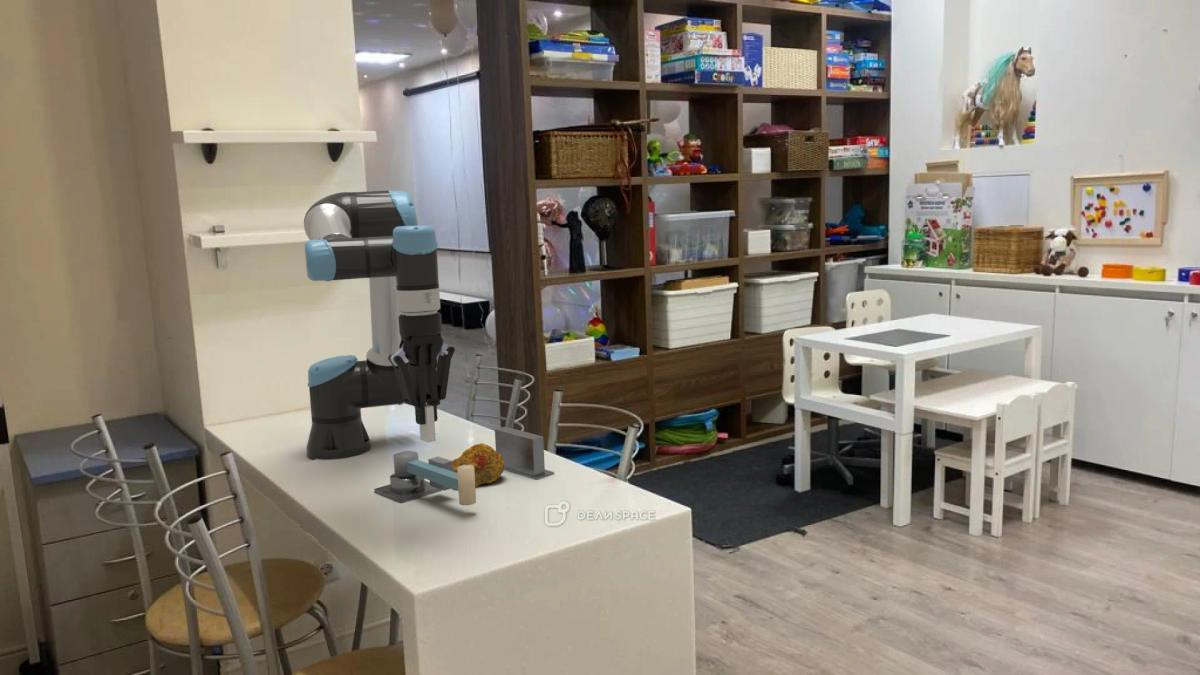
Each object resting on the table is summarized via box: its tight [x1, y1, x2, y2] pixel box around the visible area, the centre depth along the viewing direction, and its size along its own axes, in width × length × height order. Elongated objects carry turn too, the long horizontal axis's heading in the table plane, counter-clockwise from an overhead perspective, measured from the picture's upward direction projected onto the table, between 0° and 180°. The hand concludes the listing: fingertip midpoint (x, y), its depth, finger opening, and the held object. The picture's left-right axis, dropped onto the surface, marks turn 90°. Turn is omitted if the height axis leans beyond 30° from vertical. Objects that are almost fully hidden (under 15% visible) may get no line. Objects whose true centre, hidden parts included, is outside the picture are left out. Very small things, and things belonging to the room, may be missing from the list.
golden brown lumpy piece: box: [451, 442, 505, 488], centre depth 189 cm, size 11×8×10 cm
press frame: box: [373, 426, 555, 504], centre depth 188 cm, size 21×32×9 cm, turn 135°
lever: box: [392, 450, 477, 506], centre depth 177 cm, size 25×6×7 cm, turn 45°
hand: (428, 440), depth 162 cm, fingers closed
